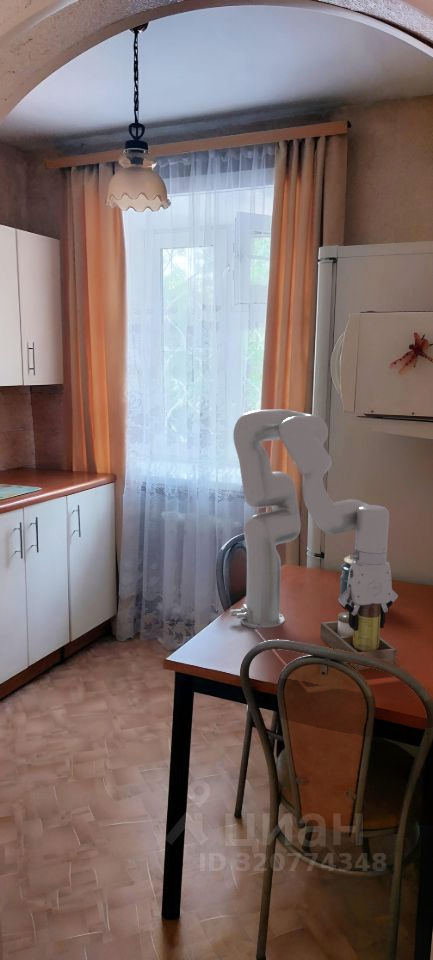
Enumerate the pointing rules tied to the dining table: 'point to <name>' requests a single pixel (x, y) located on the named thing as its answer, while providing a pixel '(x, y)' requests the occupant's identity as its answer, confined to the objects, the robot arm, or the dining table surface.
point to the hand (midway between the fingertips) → (366, 626)
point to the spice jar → (344, 625)
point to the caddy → (346, 643)
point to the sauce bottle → (367, 628)
